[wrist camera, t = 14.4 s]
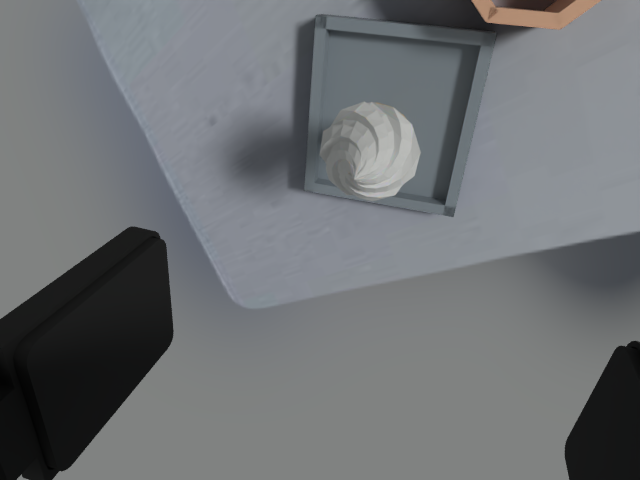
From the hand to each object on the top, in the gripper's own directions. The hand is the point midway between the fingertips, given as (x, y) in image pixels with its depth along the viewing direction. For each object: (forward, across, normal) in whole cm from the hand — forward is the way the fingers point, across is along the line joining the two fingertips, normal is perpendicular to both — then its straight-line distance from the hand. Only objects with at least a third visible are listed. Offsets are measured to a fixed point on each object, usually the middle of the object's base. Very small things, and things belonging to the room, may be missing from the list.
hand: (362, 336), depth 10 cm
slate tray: (+28, +3, +2) cm, 29 cm away
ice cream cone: (+28, +3, +2) cm, 28 cm away
